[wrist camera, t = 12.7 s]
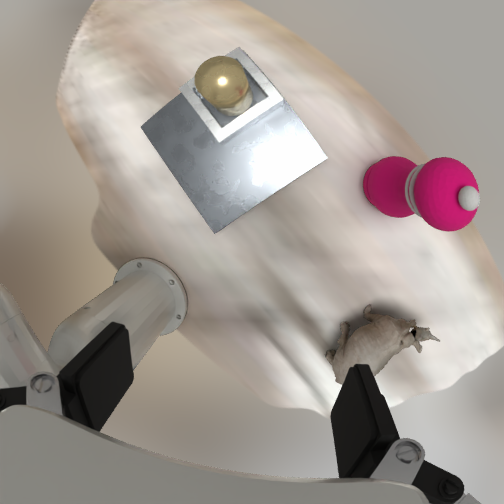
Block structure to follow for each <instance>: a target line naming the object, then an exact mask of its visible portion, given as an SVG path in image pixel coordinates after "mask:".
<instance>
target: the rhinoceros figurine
mask: <svg viewBox="0 0 504 504" xmlns="http://www.w3.org/2000/svg"><path fill="white" fill-rule="evenodd" d="M371 309H372V308H371V305H368V306H367V307H366V309H365V310H364V317H365V318H366V319H367V320H369V321H370V322H371V323H369V324H367V325H364V326H362V327H360V328H358V329H357V330H355V331H354V333H353V334H352V335H351V336H350V338H349V331H350V325H348V323H349V322H347V321H346V322H341V325H340V327H341V328H340V329H341V332H342V335H341V337H340V338H339V340H338V341H337V343H338V344H339V345H340V346H339V348H338V349H337V352H335V350H333V349H332V350H327V352H326V353H327V356H326V359H327V360H328V361H329V362H330V364H331V365H332V367H333V371H334V374H335V377H336V380H335V381H336V382H337V383H340V384H342V385H343V383H344V380H345V378H346V375H347V373H348V370H349V368H350V367H353V366H354V365H355V364H368V365H369V366H370V368H371V371H372V373H373V376H376V374H378V373H379V372H380V370H382V369H383V368H384V366H385V365H386V364H387V363H388V361H389V360H390V359H391V357H392V356H393V355H395V354H398V353H399V352H400V351H401V350H402V349H404V348H408V347H410V346H411V345H414V346H415V348H416V349H417V351H418V352H419V353H421V351H422V346H421V345H420V344H419V341H425V340H429V339H432V340H436V341H439V342H440V340H439V339H437V338H436V337H435V336H433V335H432V334H431V333H430V331H429V328H422V327H420V328H419V327H417V326H416V322H415V320H411V321H409V322H407V321H405V320H404V319H395V318H393V317H391V316H389V315H385V316H383V315H381V314H371V313H370V312H371ZM410 327H411V328H413V327H414V329H412V331H411V332H409V329H410ZM325 355H326V354H325Z"/></svg>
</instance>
